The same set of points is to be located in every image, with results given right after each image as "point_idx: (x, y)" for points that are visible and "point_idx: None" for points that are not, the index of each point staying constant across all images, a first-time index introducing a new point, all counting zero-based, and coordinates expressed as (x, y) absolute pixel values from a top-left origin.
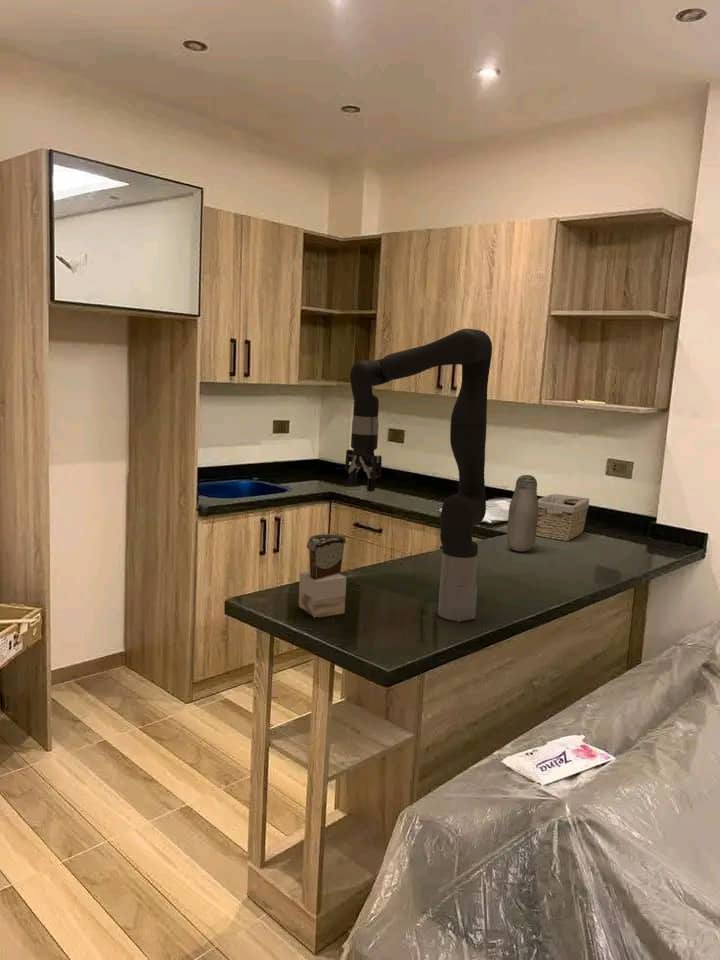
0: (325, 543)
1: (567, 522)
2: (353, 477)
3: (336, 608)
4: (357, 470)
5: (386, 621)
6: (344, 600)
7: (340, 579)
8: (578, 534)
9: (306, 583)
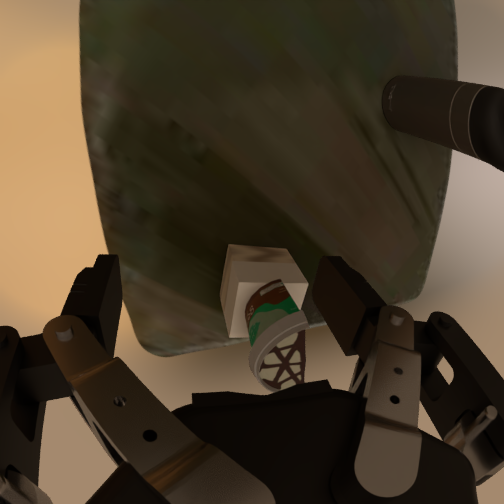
0: (304, 368)
1: None
2: (112, 328)
3: None
4: (95, 343)
5: (353, 214)
6: (293, 261)
7: (304, 294)
8: None
9: None
